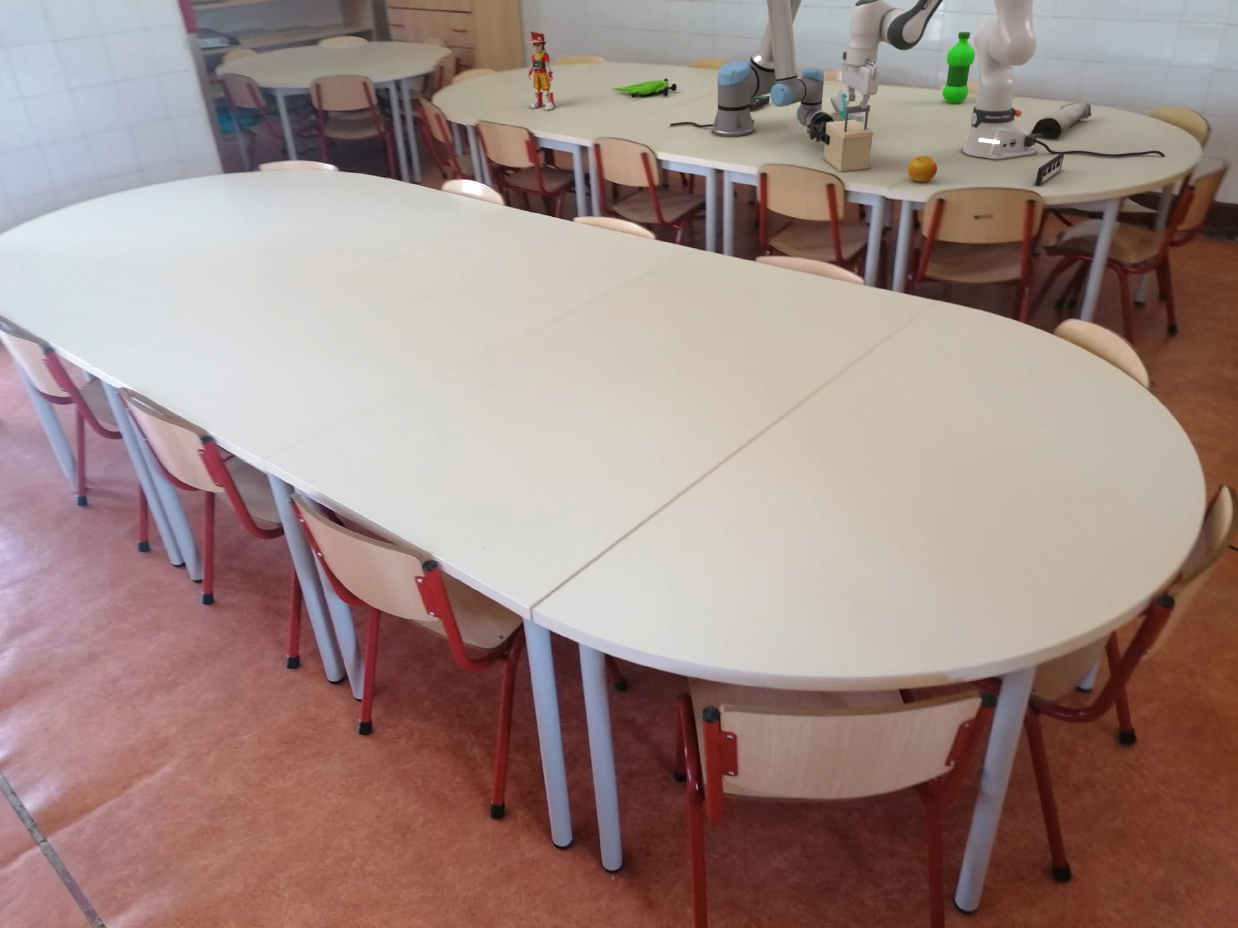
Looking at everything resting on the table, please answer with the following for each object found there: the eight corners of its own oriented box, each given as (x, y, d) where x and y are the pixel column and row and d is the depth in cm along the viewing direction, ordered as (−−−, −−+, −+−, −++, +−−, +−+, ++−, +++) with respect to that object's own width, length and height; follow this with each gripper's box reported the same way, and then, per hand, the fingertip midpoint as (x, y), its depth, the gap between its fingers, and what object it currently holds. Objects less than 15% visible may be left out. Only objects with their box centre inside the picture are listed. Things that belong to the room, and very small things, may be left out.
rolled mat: (1058, 107, 328) (1083, 90, 320) (1071, 128, 329) (1097, 111, 320) (1025, 130, 311) (1051, 112, 303) (1040, 152, 311) (1065, 134, 303)
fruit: (901, 172, 275) (918, 148, 272) (903, 174, 283) (919, 151, 280) (924, 187, 274) (941, 164, 271) (925, 189, 282) (942, 166, 279)
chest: (869, 168, 292) (872, 135, 286) (840, 171, 291) (843, 138, 285) (851, 155, 304) (854, 124, 298) (823, 158, 303) (826, 126, 297)
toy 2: (686, 85, 398) (631, 84, 414) (685, 72, 395) (629, 72, 411) (651, 104, 381) (596, 103, 397) (650, 92, 378) (594, 91, 394)
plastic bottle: (973, 101, 354) (984, 32, 339) (955, 106, 349) (966, 36, 335) (952, 97, 361) (962, 29, 346) (934, 102, 356) (944, 33, 342)
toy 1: (525, 109, 381) (517, 32, 364) (534, 104, 388) (527, 28, 371) (550, 110, 377) (543, 32, 360) (559, 105, 384) (553, 28, 367)
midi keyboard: (1039, 185, 269) (1043, 168, 266) (1035, 184, 270) (1038, 168, 267) (1060, 170, 279) (1064, 154, 277) (1056, 169, 280) (1060, 153, 277)
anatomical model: (825, 90, 346) (851, 83, 346) (828, 117, 352) (853, 110, 352) (836, 99, 334) (863, 92, 333) (839, 127, 340) (865, 120, 339)
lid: (873, 136, 285) (876, 107, 280) (843, 139, 284) (846, 110, 279) (854, 123, 298) (856, 95, 293) (826, 126, 297) (828, 98, 292)
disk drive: (754, 111, 359) (769, 102, 369) (754, 104, 357) (770, 95, 367) (731, 109, 364) (746, 100, 374) (731, 102, 362) (747, 93, 372)
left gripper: (849, 130, 318) (874, 147, 300) (788, 137, 315) (810, 154, 297) (851, 108, 313) (877, 124, 295) (789, 114, 311) (812, 130, 293)
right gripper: (886, 62, 266) (880, 111, 274) (859, 50, 283) (854, 96, 290) (865, 64, 265) (860, 113, 273) (840, 52, 282) (836, 98, 290)
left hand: (843, 139), depth 296 cm, fingers closed on chest, 10 cm apart
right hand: (857, 104), depth 282 cm, fingers open, 8 cm apart
